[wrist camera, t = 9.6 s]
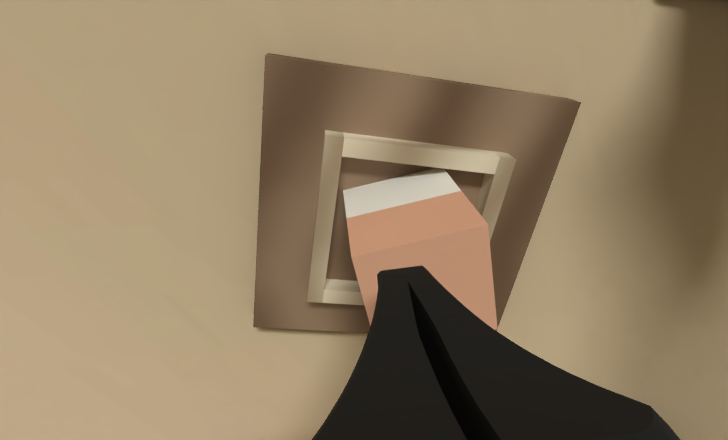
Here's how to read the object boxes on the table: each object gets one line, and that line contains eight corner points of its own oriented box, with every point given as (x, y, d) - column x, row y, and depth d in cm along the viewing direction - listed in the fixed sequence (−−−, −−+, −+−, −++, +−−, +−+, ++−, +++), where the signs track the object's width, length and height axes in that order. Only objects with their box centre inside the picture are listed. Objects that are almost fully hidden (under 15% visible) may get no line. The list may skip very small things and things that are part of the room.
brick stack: (441, 166, 19) (488, 224, 14) (453, 251, 22) (497, 329, 16) (343, 190, 19) (351, 257, 14) (364, 272, 22) (378, 356, 16)
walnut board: (569, 98, 20) (593, 106, 18) (487, 328, 26) (499, 351, 24) (267, 53, 17) (261, 57, 16) (255, 315, 23) (250, 339, 22)
